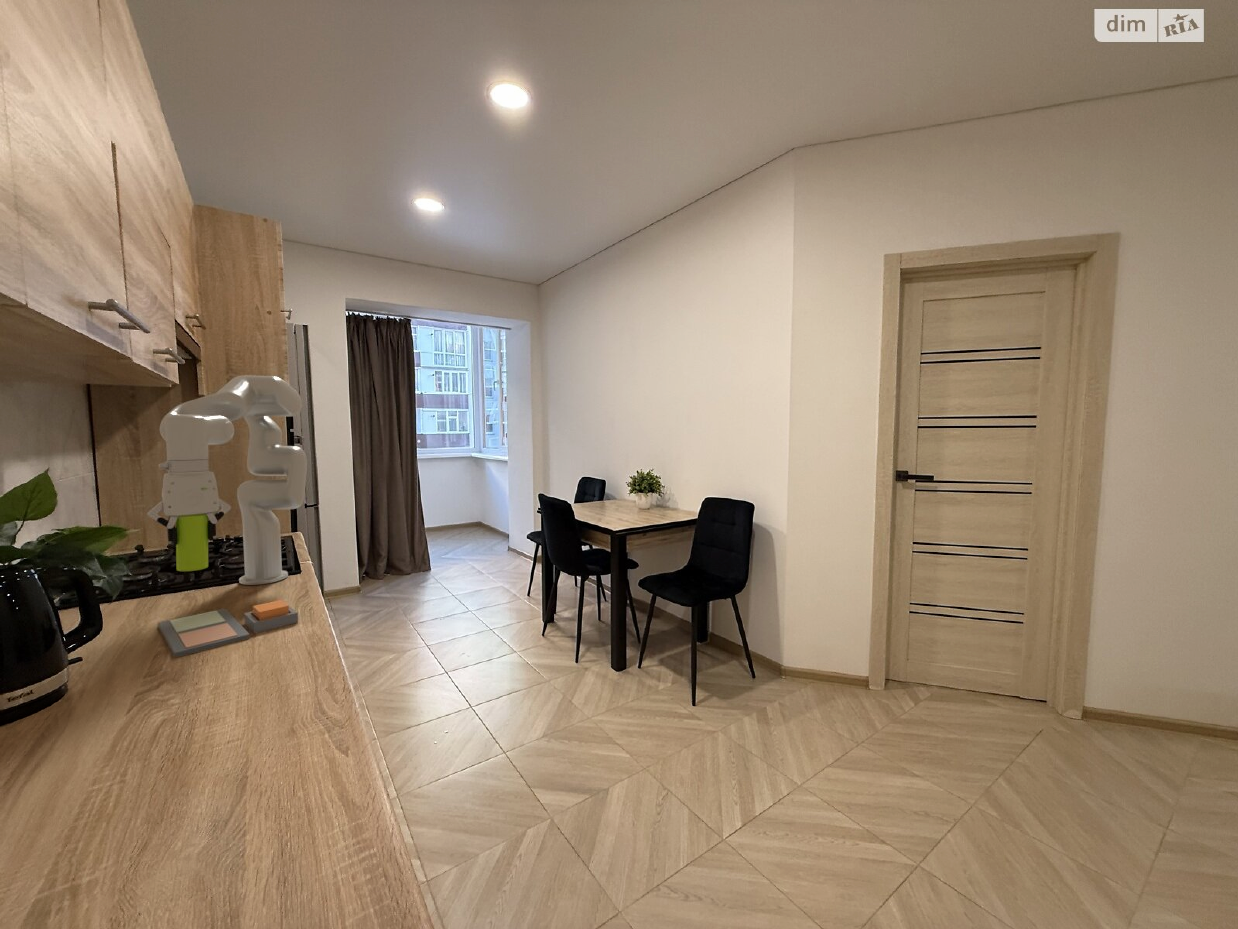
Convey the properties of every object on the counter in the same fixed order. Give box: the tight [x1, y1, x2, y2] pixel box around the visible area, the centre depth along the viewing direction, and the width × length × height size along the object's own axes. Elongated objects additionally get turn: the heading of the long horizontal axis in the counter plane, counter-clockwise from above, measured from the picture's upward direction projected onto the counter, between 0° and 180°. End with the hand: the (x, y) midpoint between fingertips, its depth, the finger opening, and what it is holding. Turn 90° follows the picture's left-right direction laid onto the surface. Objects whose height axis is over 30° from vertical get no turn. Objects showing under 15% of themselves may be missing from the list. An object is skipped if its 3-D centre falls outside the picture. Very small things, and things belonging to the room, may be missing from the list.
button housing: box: [243, 604, 299, 634], centre depth 125 cm, size 9×9×2 cm
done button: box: [252, 599, 290, 620], centre depth 125 cm, size 6×6×2 cm
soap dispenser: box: [175, 488, 209, 572], centre depth 121 cm, size 6×7×20 cm
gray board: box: [157, 608, 251, 658], centre depth 119 cm, size 24×13×1 cm, turn 48°
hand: (192, 541), depth 121 cm, fingers closed on soap dispenser, 6 cm apart
